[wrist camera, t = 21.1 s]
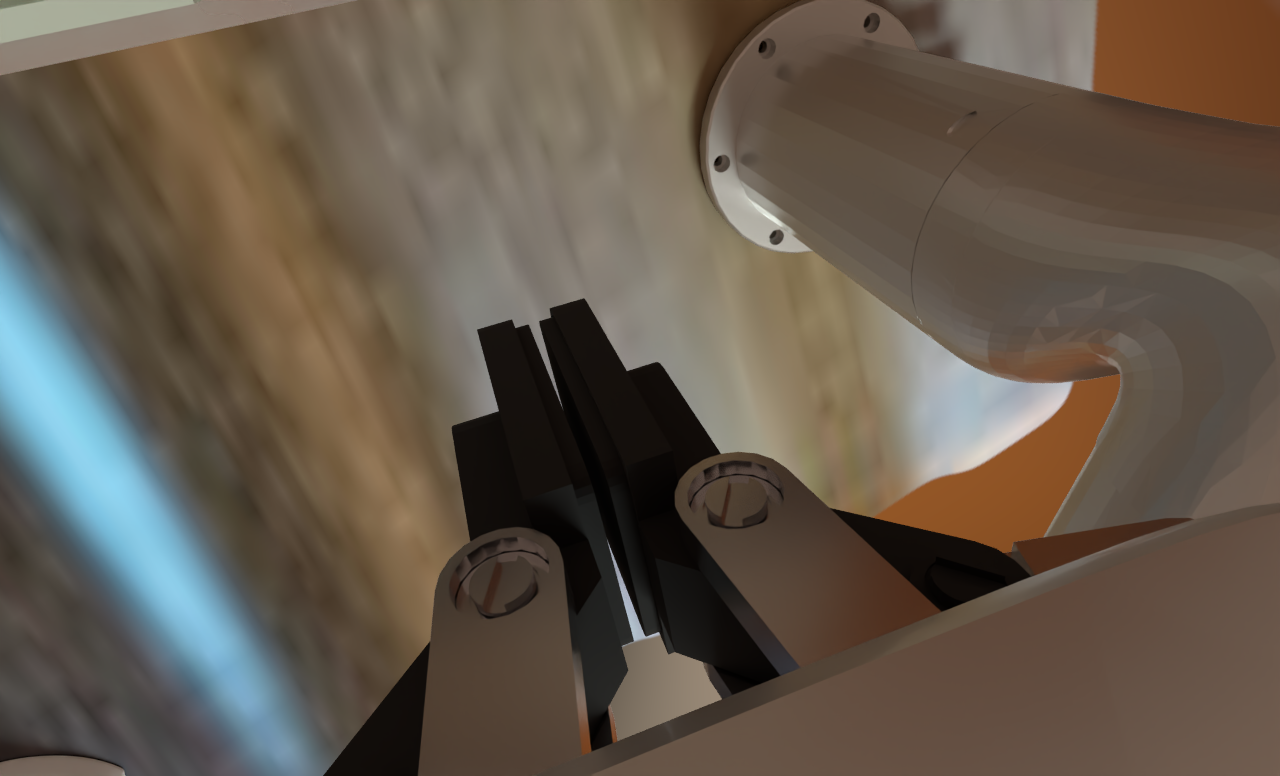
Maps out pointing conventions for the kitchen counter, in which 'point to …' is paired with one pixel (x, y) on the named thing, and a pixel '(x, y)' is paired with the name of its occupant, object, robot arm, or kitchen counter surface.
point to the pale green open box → (70, 14)
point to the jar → (58, 767)
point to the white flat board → (144, 30)
